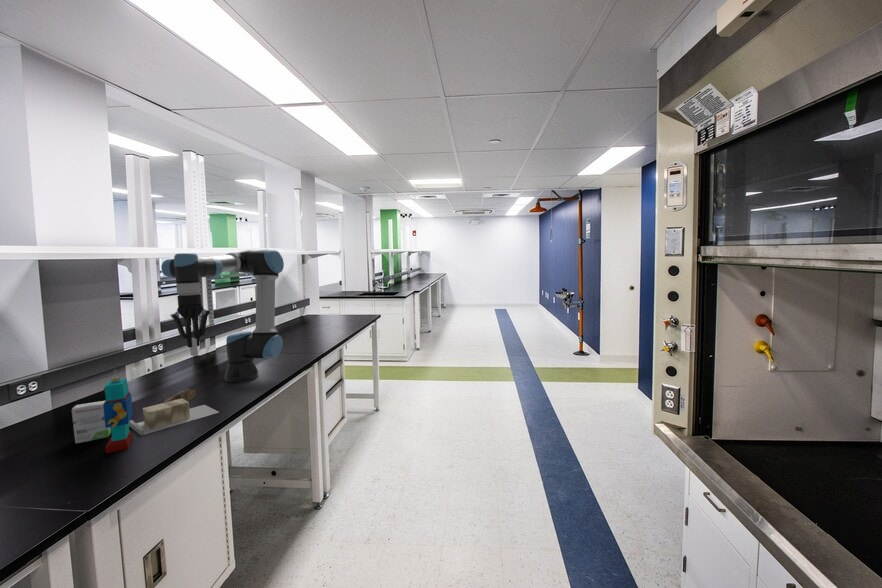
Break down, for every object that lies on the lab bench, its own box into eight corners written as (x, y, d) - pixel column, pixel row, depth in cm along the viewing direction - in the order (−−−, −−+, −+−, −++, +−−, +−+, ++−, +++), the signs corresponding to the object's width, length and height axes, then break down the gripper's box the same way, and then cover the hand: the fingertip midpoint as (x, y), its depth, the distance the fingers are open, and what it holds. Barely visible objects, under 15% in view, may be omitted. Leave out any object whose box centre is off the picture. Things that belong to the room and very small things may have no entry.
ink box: (111, 432, 136) (108, 399, 135) (108, 437, 132) (105, 403, 131) (78, 438, 132) (75, 404, 131) (74, 444, 127) (70, 409, 126)
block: (181, 398, 151) (142, 408, 141) (188, 402, 146) (149, 412, 137) (182, 413, 151) (144, 424, 141) (189, 417, 147) (150, 429, 137)
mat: (204, 405, 160) (204, 400, 160) (219, 413, 152) (219, 408, 151) (128, 426, 141) (128, 420, 141) (140, 436, 132) (140, 430, 132)
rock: (185, 408, 158) (184, 394, 158) (155, 411, 155) (154, 397, 155) (196, 395, 173) (195, 383, 172) (169, 398, 170) (168, 385, 169)
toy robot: (112, 441, 129) (105, 366, 127) (135, 436, 132) (129, 364, 130) (104, 455, 119) (96, 375, 117) (129, 450, 122) (122, 372, 120)
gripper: (203, 292, 156) (208, 350, 158) (165, 295, 145) (171, 357, 148) (211, 293, 151) (216, 352, 153) (172, 296, 141) (178, 360, 143)
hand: (194, 355), depth 150 cm, fingers closed
